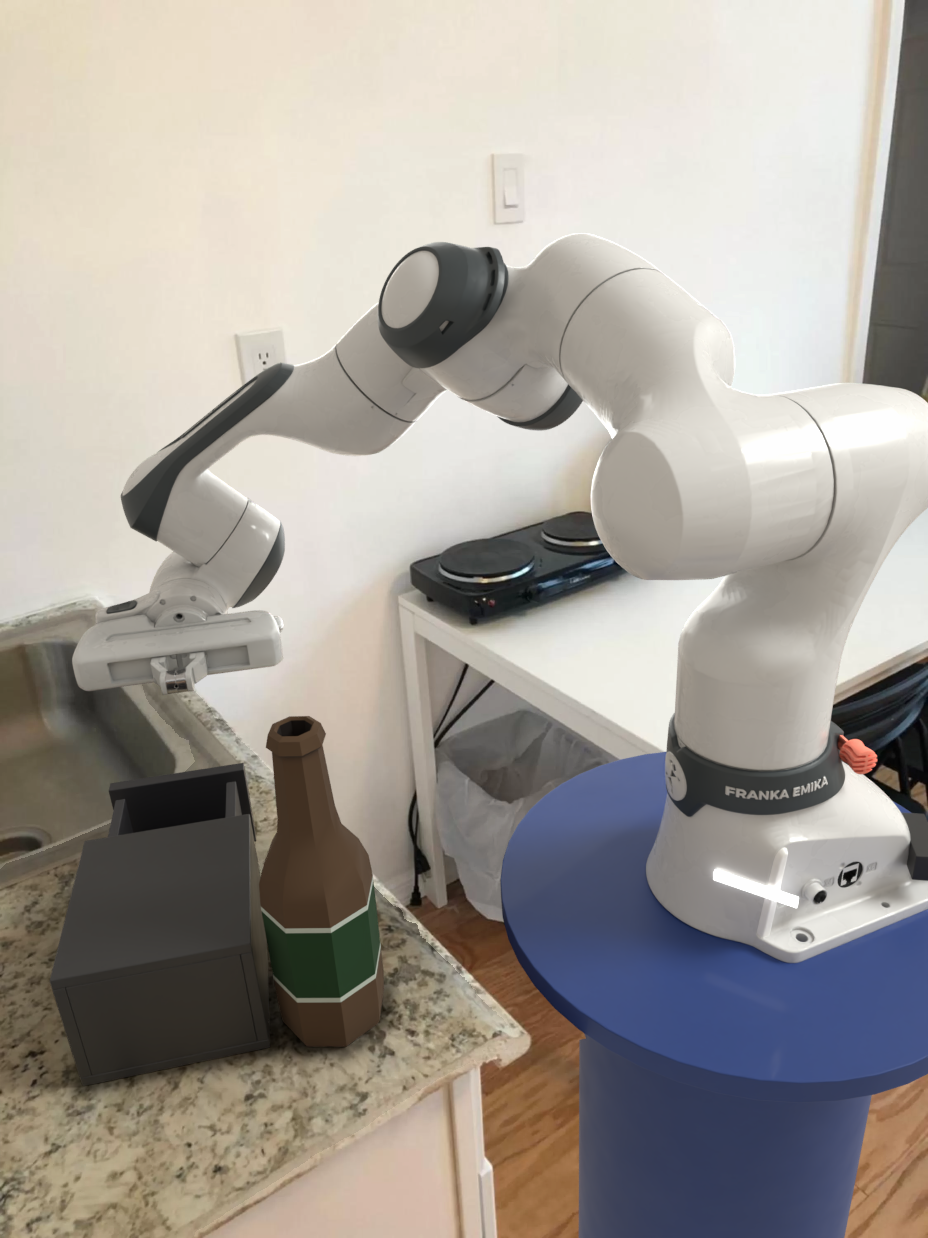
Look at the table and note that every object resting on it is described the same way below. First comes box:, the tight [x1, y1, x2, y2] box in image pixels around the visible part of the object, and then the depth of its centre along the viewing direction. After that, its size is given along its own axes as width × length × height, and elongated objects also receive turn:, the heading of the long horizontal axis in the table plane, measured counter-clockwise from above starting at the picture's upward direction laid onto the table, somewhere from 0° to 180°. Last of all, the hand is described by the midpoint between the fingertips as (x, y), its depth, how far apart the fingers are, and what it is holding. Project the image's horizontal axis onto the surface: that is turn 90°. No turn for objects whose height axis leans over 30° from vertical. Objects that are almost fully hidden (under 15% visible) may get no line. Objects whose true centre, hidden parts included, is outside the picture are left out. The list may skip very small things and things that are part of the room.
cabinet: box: [49, 814, 271, 1087], centre depth 69 cm, size 15×13×10 cm
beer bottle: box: [259, 715, 385, 1048], centre depth 63 cm, size 8×8×24 cm
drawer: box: [107, 762, 257, 842], centre depth 79 cm, size 18×11×8 cm, turn 12°
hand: (176, 686), depth 88 cm, fingers closed
